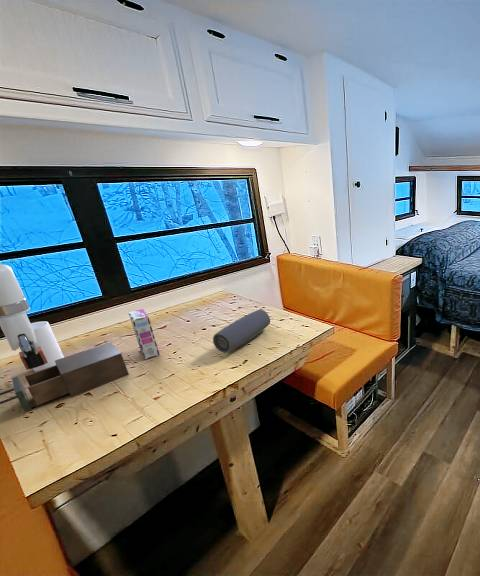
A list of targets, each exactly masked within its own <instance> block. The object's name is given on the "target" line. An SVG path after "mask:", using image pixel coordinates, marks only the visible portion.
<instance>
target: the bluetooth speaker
mask: <svg viewBox="0 0 480 576" xmlns="http://www.w3.org/2000/svg"><path fill="white" fill-rule="evenodd" d="M270 324H271V318H270V315H269V314H268V312H267V311H265V310H264V309H256V310H254V311H252V312H249V313H248V314H246V315H245V316H242V317H241V318H239V319H237V320H235V321H233V322H231V323H230V324H228V325H227V326H225V327H224V328H222V329H220V330H219V331H218V332H216V333H215V334H214V335H213V336H212V343H213V345H214V347H215V349H217V350H218V351H219V352H221V353H225V354H227V353H229V352H232V351H233V350H235V349H237V348H239V349H240V348H241V347H243V346H244V345H246V344H248V343H249V342H252V340H254V339H255V338H256V337H257V335H258V334H259V333H261V332H262V331H264V330H265V329H266V328H267V327H268V326H270Z"/></svg>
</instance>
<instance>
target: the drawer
mask: <svg viewBox="0 0 480 576" xmlns="http://www.w3.org/2000/svg"><path fill="white" fill-rule="evenodd" d="M24 378H25V380H26V382H27V383H28V386H27V389H28V391H29V393H30V395H31V397H32V398H33V401H34V402H35V405H36V406H39V405H42V404H44V403H47V402H50V401H52V400H54V399H57V398H59V397H62V396H64V395H67V394H70V393H69V391H68V389H67V387H66V385H65V382H64V380H63V378H62V376H61V374H60V372H59V369H58V367H57V365H54V366H51V367H48V368H45V369H42V370H40V371H37V372H35V371H34V372H30V373H28V374H25V375H24ZM11 380H12V385H13V388H10V389H7V390H3V391H1V392H0V396H2V395H5V394H9V393H11V392H14V394H15V395H14V396H12V397H11V396H10V397H9V398H5V399H3V400H0V405H3V404H6V403H8V402H11V401H13V400H16V399H17V400H18V401H19V403H20V405H21V407H22V409H23V411H24V413H27V412H29V411H31V410H32V407H31V404H30V400H29V395H28V393H27V391H26V389H25V387H24V385H23V383H22V382H21V380H20V378H19V376H18V375H17V376H14V377H12V378H11Z"/></svg>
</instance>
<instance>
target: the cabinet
mask: <svg viewBox="0 0 480 576" xmlns="http://www.w3.org/2000/svg"><path fill="white" fill-rule="evenodd" d="M55 363H56V365H57V367H58V369H59V372H60V374H61V376H62V378H63V380H64V382H65V385H66V387H67V389H68V391H69V393H68V394H69V395H70V398H75V397H76V396H79V395H81V394H84V393H87V392H89V391H91V390H94V389H96V388H99V387H101V386H103V385H106V384H108V383H109V384H110V383H112V382H114V381H116V380H118V379H121V378H124V377H127V376H128V375H130V373H129V371H128V367H127V366H126V363H125V359H124V357H123V355H122V352H121V351H119V349H118V348H117V347H116V345H114V343H113V342H112V341H111V342H108V343H103V344H101V345H98V346H94V347H91V348H89V349H86V350H82V351H79V352H77V353H73V354H71V355H66V356H64V358H61V359H58V360H55Z"/></svg>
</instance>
